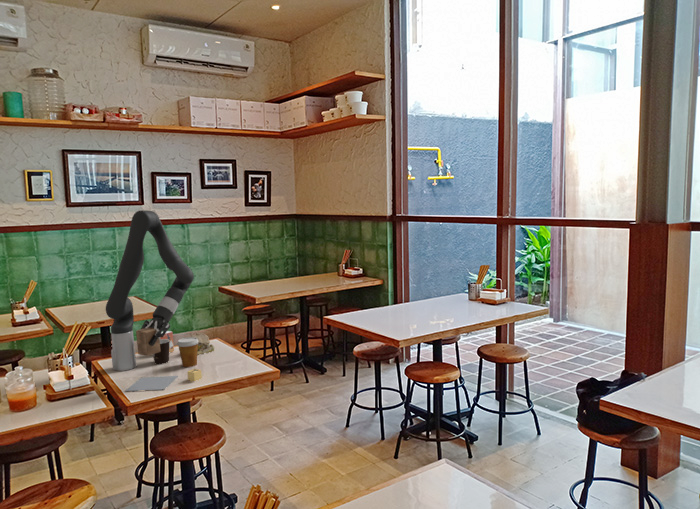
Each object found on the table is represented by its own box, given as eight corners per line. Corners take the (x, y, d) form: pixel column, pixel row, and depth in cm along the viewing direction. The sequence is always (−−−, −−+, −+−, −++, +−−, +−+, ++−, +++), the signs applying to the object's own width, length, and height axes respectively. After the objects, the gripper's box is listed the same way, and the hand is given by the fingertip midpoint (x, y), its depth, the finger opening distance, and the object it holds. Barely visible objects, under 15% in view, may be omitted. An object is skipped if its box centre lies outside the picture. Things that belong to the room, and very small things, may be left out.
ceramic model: (187, 357, 256) (185, 337, 255) (183, 352, 266) (181, 332, 265) (216, 352, 263) (214, 332, 262) (211, 347, 273) (209, 328, 272)
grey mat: (125, 391, 212) (124, 390, 212) (141, 378, 228) (141, 377, 228) (164, 390, 211) (164, 389, 211) (177, 376, 227) (177, 375, 227)
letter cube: (188, 380, 222) (187, 371, 221) (195, 377, 225) (194, 368, 224) (194, 382, 219) (193, 372, 219) (201, 379, 223) (201, 369, 222)
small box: (161, 356, 261) (159, 335, 260) (154, 354, 264) (152, 334, 263) (174, 351, 267) (172, 331, 266) (167, 350, 270) (165, 330, 269)
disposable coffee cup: (203, 361, 247) (201, 336, 246) (195, 368, 238) (193, 342, 237) (184, 362, 248) (182, 337, 247) (175, 368, 239) (173, 342, 238)
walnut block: (138, 354, 217) (135, 330, 216) (150, 350, 222) (148, 327, 221) (148, 355, 214) (145, 331, 213) (160, 351, 219) (158, 328, 218)
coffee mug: (171, 363, 247) (169, 342, 246) (151, 366, 245) (149, 345, 244) (171, 356, 258) (170, 336, 257) (153, 359, 256) (151, 339, 255)
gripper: (148, 304, 226) (127, 337, 217) (171, 305, 219) (150, 341, 210) (160, 313, 231) (139, 346, 223) (182, 315, 224) (162, 350, 215)
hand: (145, 343), depth 216 cm, fingers closed on walnut block, 6 cm apart
